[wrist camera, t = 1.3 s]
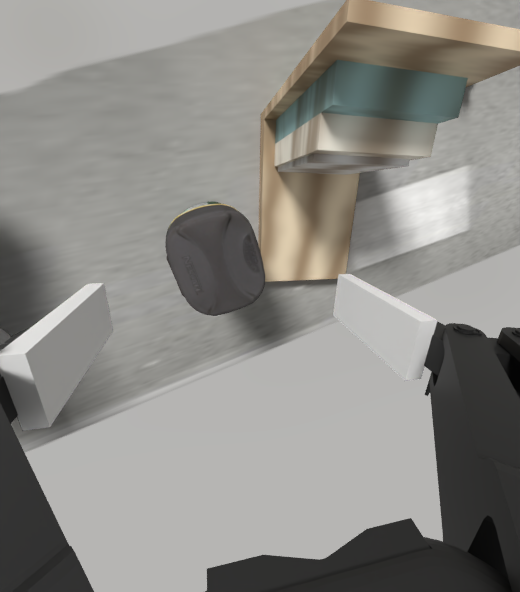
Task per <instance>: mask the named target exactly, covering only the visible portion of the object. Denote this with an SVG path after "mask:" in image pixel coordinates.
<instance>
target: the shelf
mask: <svg viewBox="0 0 520 592" xmlns="http://www.w3.org/2000/svg"><path fill="white" fill-rule="evenodd" d="M517 66H520V30H519V29H514V28H509V27H504V26H499V25H494V24H488V23H483V22H478V21H473V20H468V19H463V18H457V17H452V16H447V15H442V14H437V13H432V12H427V11H421V10H416V9H411V8H406V7H401V6H396V5H390V4H385V3H380V2H375V1H370V0H347V1H346V2H345V3H344V5H343V6H342V7H341V8H340V10H339V11H338V12H337V14H336V15H335V16H334V18H333V19H332V20H331V22H330V23H329V24H328V26H327V27H326V28H325V30H324V31H323V32H322V34H321V35H320V36H319V38H318V39H317V40H316V42H315V43H314V44H313V46H312V47H311V48H310V50H309V51H308V52H307V54H306V55H305V56H304V58H303V59H302V60H301V62H300V63H299V64H298V66H297V67H296V68H295V70H294V71H293V72H292V74H291V75H290V76H289V78H288V79H287V80H286V82H285V83H284V84H283V86H282V87H281V88H280V89H279V91H278V92H277V93H276V95H275V96H274V97H273V99H272V100H271V101H270V103H269V104H268V105H267V107H266V108H265V109H264V111H263V112H262V113H261V138H260V189H259V239H258V245H259V249H260V252H261V257H262V261H263V266H264V270H265V282H270V281H293V280H316V279H338V275H339V274H346V267H347V260H348V253H349V246H350V239H351V232H352V225H353V218H354V211H355V203H356V196H357V189H358V182H359V175H360V173H362V172H369V171H377V170H384V169H391V168H398V167H405V166H409V161H410V160H414V159H420V158H426V157H431V152H432V148H433V143H434V139H435V134H436V130H437V125H438V123H441V122H445V121H448V120H451V119H455V118H458V116H459V112H460V108H461V104H462V100H463V96H464V92H465V88H466V87H468V86H470V85H473V84H475V83H478V82H480V81H483V80H485V79H488V78H490V77H492V76H495V75H497V74H500V73H502V72H505V71H507V70H510V69H512V68H515V67H517Z"/></svg>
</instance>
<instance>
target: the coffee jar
mask: <svg viewBox="0 0 520 592" xmlns="http://www.w3.org/2000/svg"><path fill="white" fill-rule="evenodd" d="M166 252H167V261H168V263H169V265H170V267H171V270H172V272H173V274H174V277H175V279H176V281H177V284H178V286H179V288H180V291H181V293H182V295H183V296H184V297H185V298H186V300H187V302H188V303H189V304H190V305H191V306H192V307H193V308H194V309H195V310H197V311H199V312H200V313H203V314H206V315H212V316H216V315H221V314H225V313H229V312H232V311H235V310H238V309H240V308H243V307H245V306H247V305H249V304H252V303H253V302H254V301H255V300H256V299H257V298H258V297H259V296H260V294H261V293H262V291H263V288H264V285H265V270H264V266H263V261H262V257H261V252H260V249H259V245H258V243H257V240H256V237H255V234H254V231H253V229H252V226H251V224H250V223H249V221H248V220H247V218H246V217H245V216H244V215H243V214H241V213H240V212H239V211H238V210H236V209H235V208H233V207H231V206H229V205H225V204H221V203H218V202H206V203H201V204H197V205H195V206H192V207H190V208H188V209H186V210H185V211H184V212H183V213H182V214H180V215H179V216H177V217H176V218H175V219H174V220H173V221H172V222H171V224H170V226H169V228H168V231H167V235H166Z"/></svg>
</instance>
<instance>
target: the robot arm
mask: <svg viewBox="0 0 520 592" xmlns="http://www.w3.org/2000/svg"><path fill="white" fill-rule="evenodd" d="M333 316H335V317H336V318H337V319H338V320H339V321H340V322H341V323H342V324H343V325H344V326H346V327H347V328H348V329H349V330H350V331H351V332H352V333H353V334H354V335H355V336H356V337H358V338H359V339H360V340H361V341H362V342H363V343H364V344H365V345H366V346H367V347H369V348H370V349H371V350H372V351H373V352H374V353H375V354H376V355H377V356H378V357H380V358H381V359H382V360H383V361H384V362H385V363H386V364H387V365H388V366H389V367H391V368H392V369H393V370H394V371H395V372H396V373H397V374H398V375H399V376H400V377H402V378H403V379H404V380H405V381H408V380H415V379H421V376H422V373H423V370H424V366H425V367H427V368H428V369H429V370H431V371H432V373H431V376H430V379H429V383H428V386H427V389H426V393H425V395H427V396H428V394H429V393H431V404H432V416H433V427H434V439H435V450H436V461H437V473H438V484H439V495H440V506H441V516H442V517H441V518H442V529H443V542H442V541H439V540H434V539H430V538H425V537H423V536H422V535H421V533H420V531H419V530H418V529H417V527H416V525H415V524H414V522H413V521H412V519H411V518H410V519H406V520H402V521H398V522H394V523H390V524H385V525H382V526H377V527H373V528H369V529H366V530H365V531H364V532H362V533H361V534H359V535H358V536H356V537H355V538H354V539H352V540H351V541H349V542H348V543H347V544H346V545H344V546H342V547H341V548H340V549H338V550H337V551H336V552H334V553H333V554H331V555H330V556H329V557H327V558H325V559H321V560H315V559H304V558H293V557H281V556H270V555H261V556H257V557H253V558H249V559H245V560H241V561H237V562H233V563H229V564H225V565H221V566H217V567H213V568H208V569H207V591H205V592H520V328H510V327H506V328H502V330H501V332H500V335H499V337H498V339H497V338H487V337H486V335H485V334H484V333H483V332H482V331H480V330H478V329H475V328H473V327H471V326H469V325H465V324H455V323H454V324H447V325H446V326H445V325H443V324H441V323H439V322H438V321H437V320H436V319H434V318H432V317H430V316H429V315H427V314H425V313H423V312H421V311H419V310H417V309H415V308H414V307H412V306H410V305H408V304H406V303H404V302H402V301H400V300H398V299H397V298H395V297H393V296H391V295H389V294H387V293H385V292H383V291H381V290H379V289H378V288H376V287H374V286H372V285H370V284H368V283H366V282H364V281H362V280H361V279H359V278H357V277H355V276H353V275H351V274H339V275H338V282H337V290H336V298H335V305H334V313H333ZM112 332H113V326H112V321H111V316H110V311H109V306H108V301H107V296H106V290H105V285H104V283H95V284H87V285H85V286H84V287H83V288H82V289H80V290H79V291H78V292H76V293H75V294H74V295H72V296H71V297H70V298H69V299H67V300H66V301H65V302H63V303H62V304H61V305H59V306H58V307H57V308H56V309H54V310H53V311H52V312H50V313H49V314H48V315H46V316H45V317H44V318H43V319H41V320H40V321H39V322H37V323H36V324H35V325H33V326H32V327H31V328H28V329H26V330H24V331H22V332H20V333H17V334H15V335H14V336H12V337H11V338H10V339H8V340H7V341H6V342H4V344H1V345H0V592H94V591H93V589H92V587H91V585H90V583H89V581H88V578H87V576H86V574H85V573H84V570H83V568H82V566H81V564H80V562H79V560H78V558H77V556H76V554H75V552H74V551H73V549H72V547H71V546H69V544H68V543H67V540H66V538H65V536H64V534H63V532H62V530H61V528H60V526H59V524H58V522H57V520H56V518H55V516H54V514H53V511H52V509H51V507H50V505H49V503H48V501H47V499H46V497H45V495H44V493H43V491H42V489H41V487H40V485H39V482H38V481H37V478H36V476H35V474H34V472H33V470H32V468H31V466H30V464H29V462H28V460H27V457H26V456H25V453H24V451H23V449H22V447H21V445H20V443H19V441H18V439H17V437H16V435H15V432H14V430H13V428H12V426H11V423H12V421H13V420H14V419H15V418H16V417H17V418H18V421H19V423H20V426H21V428H22V431H25V430H33V429H41V428H48V427H50V426H51V425H52V423H53V422H54V420H55V419H56V417H57V416H58V414H59V413H60V411H61V410H62V408H63V407H64V405H65V404H66V402H67V401H68V399H69V398H70V396H71V395H72V393H73V391H74V390H75V388H76V387H77V385H78V384H79V382H80V381H81V379H82V378H83V376H84V375H85V373H86V372H87V370H88V369H89V367H90V366H91V364H92V363H93V361H94V359H95V358H96V356H97V355H98V353H99V352H100V350H101V349H102V347H103V346H104V344H105V343H106V341H107V340H108V338H109V337H110V335H111V334H112Z"/></svg>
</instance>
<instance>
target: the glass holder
mask: <svg viewBox="0 0 520 592" xmlns="http://www.w3.org/2000/svg"><path fill="white" fill-rule="evenodd" d="M10 338H11V336H10V335H9V334H7V333H6V332H5V331H4V330H2V329H1V328H0V345H1V344H4V342H6V341H7V340H8V339H10Z"/></svg>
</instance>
